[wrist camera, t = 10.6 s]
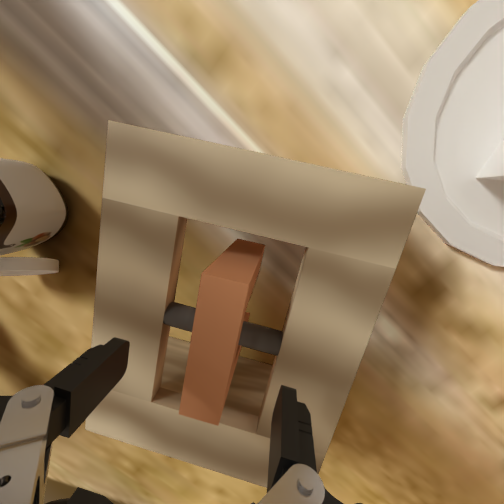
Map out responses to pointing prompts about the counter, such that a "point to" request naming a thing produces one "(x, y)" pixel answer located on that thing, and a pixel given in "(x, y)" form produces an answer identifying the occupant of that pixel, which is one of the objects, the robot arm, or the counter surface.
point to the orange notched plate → (219, 330)
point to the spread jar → (28, 217)
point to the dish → (461, 135)
